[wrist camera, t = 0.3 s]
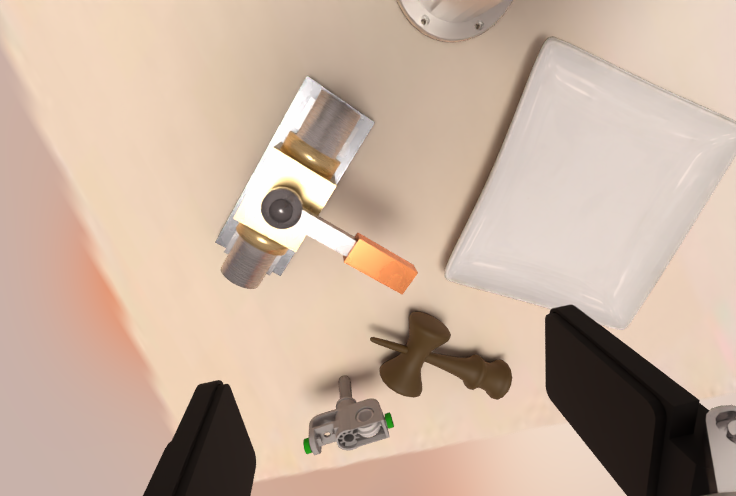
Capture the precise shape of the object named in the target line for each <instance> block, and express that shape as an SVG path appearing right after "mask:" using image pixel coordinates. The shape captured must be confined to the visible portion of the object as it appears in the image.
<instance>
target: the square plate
mask: <svg viewBox="0 0 736 496" xmlns="http://www.w3.org/2000/svg"><path fill="white" fill-rule="evenodd" d="M735 156H736V121H734V120H732V119H730V118H728V117H726V116H724V115H721V114H719V113H717V112H715V111H712V110H710V109H708V108H706V107H703V106H701V105H699V104H696V103H694V102H692V101H690V100H687V99H685V98H683V97H681V96H678V95H676V94H674V93H672V92H670V91H667V90H665V89H663V88H661V87H659V86H657V85H654V84H652V83H650V82H648V81H646V80H644V79H642V78H640V77H638V76H636V75H634V74H632V73H629V72H627V71H625V70H623V69H621V68H619V67H617V66H615V65H613V64H611V63H609V62H607V61H605V60H603V59H601V58H599V57H597V56H595V55H593V54H591V53H589V52H587V51H585V50H583V49H581V48H579V47H576V46H574V45H572V44H570V43H568V42H565V41H563V40H560V39H558V38H555V37H549V38H547V40H546V41H545V42H544V44H543V46H542V48H541V50H540V52H539V54H538V56H537V58H536V61H535V63H534V65H533V68H532V70H531V73H530V75H529V78H528V80H527V83H526V86H525V88H524V91H523V93H522V96H521V99H520V101H519V104H518V106H517V109H516V112H515V114H514V117H513V119H512V122H511V124H510V127H509V129H508V132H507V134H506V137H505V139H504V142H503V144H502V147H501V149H500V151H499V154H498V156H497V159H496V161H495V163H494V166H493V168H492V170H491V172H490V175H489V177H488V179H487V181H486V184H485V186H484V188H483V190H482V192H481V194H480V196H479V199H478V201H477V203H476V205H475V207H474V209H473V211H472V213H471V215H470V217H469V219H468V221H467V223H466V225H465V227H464V229H463V231H462V233H461V235H460V237H459V239H458V241H457V243H456V245H455V247H454V249H453V251H452V254H451V256H450V258H449V260H448V263H447V265H446V268H445V278H446V279H447V280H449V281H451V282H454V283H457V284H460V285H464V286H467V287H471V288H475V289H479V290H483V291H486V292H490V293H494V294H498V295H501V296H505V297H509V298H513V299H516V300H520V301H524V302H527V303H531V304H534V305H538V306H541V307H544V308H548V309H552V308H556V307H561V306H565V305H570V304H571V305H574V306H576V307H577V308H579V309H580V310H581V311H582V312H584V313H585V314H586V315H588V316H589V317H590V318H592V319H593V320H594V321H596V322H597V323H598V324H600V325H603V326H606V327H610V328H614V329H619V330H623V329H625V328H627V327H628V326H629V324H630V323H631V321H632V320H633V318H634V317H635V315H636V314H637V312H638V311H639V309H640V308H641V306H642V305H643V303H644V302H645V300H646V299H647V297H648V295H649V294H650V292H651V291H652V289H653V288H654V286H655V285H656V283H657V281H658V280H659V278H660V277H661V275H662V274H663V272H664V270H665V269H666V267H667V266H668V264H669V263H670V261H671V259H672V258H673V256H674V255H675V253H676V252H677V250H678V248H679V247H680V245H681V243H682V242H683V240H684V239H685V237H686V235H687V234H688V232H689V231H690V229H691V227H692V226H693V224H694V223H695V221H696V219H697V218H698V216H699V214H700V213H701V211H702V210H703V208H704V207H705V205H706V203H707V202H708V200H709V199H710V197H711V195H712V194H713V192H714V190H715V189H716V187H717V185H718V184H719V182H720V181H721V179H722V177H723V176H724V174H725V172H726V171H727V169H728V167H729V166H730V164H731V163H732V161H733V159H734V158H735Z"/></svg>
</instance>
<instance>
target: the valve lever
mask: <svg viewBox="0 0 736 496" xmlns="http://www.w3.org/2000/svg"><path fill="white" fill-rule="evenodd" d="M261 214H262V217H263V219H264V220H265V222H266V223H267V224H269V225H270V226H272V227H274V228H276V229H288V228H291V227H294V228H296V229H297V230H299V231H301V232H303V233H305V234H306V235H308V236H310V237H312V238H314V239H315V240H317V241H319V242H321V243H322V244H324V245H326V246H328V247H330V248H331V249H333V250H335V251H337V252H339V253H340V254H342V255H343V258H344V263H346V264H348V265H350V266H351V267H353V268H355V269H357V270H359V271H361V272H362V273H364V274H366V275H368V276H370V277H371V278H373V279H375V280H377V281H379V282H380V283H382V284H384V285H386V286H388V287H390V288H391V289H393V290H395V291H397V292H399V293H400V294H403V293H404V292H405V290H406V289H407V287H408V286H409V285H410V283H411V282H412V280H413V279H414V278H415V276H416V275H417V273H418V272H417V270H416V269H415V267H414V265H413V264H411V263H409V262H408V261H406V260H404V259H402V258H401V257H399V256H397V255H396V254H394V253H392V252H390V251H389V250H387V249H385V248H384V247H382V246H380V245H378V244H377V243H375V242H373V241H372V240H370V239H368V238H366V237H365V236H363V235H361V234H360V233H357V234H356V236H355V237H354V236H352V235H350V234H349V233H347V232H345V231H343V230H342V229H340V228H338V227H336V226H335V225H333V224H331V223H329V222H328V221H326V220H324V219H323V218H321V217H319V216H317V215H316V214H314V213H312V212H310V211H309V210H307V209H305V208H304V207H303V203H302V200H301V198H300V196H299V195H298V194H297V193H296V192H295V191H294V190H292V189H290V188H287V187H277V188H274V189H272V190H270V191H269V192H268V193H267V194H266V196H265V197H264V199H263V201H262V203H261Z"/></svg>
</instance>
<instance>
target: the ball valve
mask: <svg viewBox="0 0 736 496" xmlns="http://www.w3.org/2000/svg"><path fill="white" fill-rule="evenodd" d="M374 123H375V122H374V121H372V120H371V119H369V118H368V117H366V116H365V115H363V114H362V113H360V112H359V111H358V110H356V109H355V108H353V107H352V106H350V105H349V104H347V103H346V102H344V101H343V100H342V99H340V98H339V97H337V96H336V95H334V94H333V93H331V92H330V91H329V90H327V89H326V88H324V87H323V86H321V85H320V84H318V83H317V82H315V81H314V80H313V79H311V78H310V77H308V76H306V78H305V80H304V82H303V84H302V86H301V87H300V89H299V91H298V93H297V95H296V96H295V98H294V100H293V102H292V104H291V106H290V107H289V109H288V111H287V113H286V115H285V116H284V118H283V120H282V122H281V124H280V125H279V127H278V129H277V131H276V133H275V135H274V136H273V138H272V140H271V142H270V144H269V145H268V147H267V149H266V151H265V153H264V155H263V156H262V158H261V160H260V162H259V164H258V165H257V167H256V169H255V171H254V173H253V175H252V176H251V178H250V180H249V182H248V184H247V185H246V187H245V189H244V191H243V193H242V194H241V196H240V198H239V200H238V202H237V204H236V205H235V207H234V209H233V211H232V213H231V214H230V216H229V218H228V220H227V222H226V224H225V225H224V227H223V229H222V231H221V233H220V234H219V236H218V238H217V240H216V242H215V243H217V244H219V245H221V246H223V247H225V248H226V249H225V251H224V252H225V253H226V254H228V256H227V258H226V260H225V261H224V263H223V265H222V267H221V272H222V274H223V275H224V276H225V277H226V278H227V279H228V280H229V281H231V282H232V283H234V284H236V285H238V286H240V287H243V288H248V289H254V288H257V287H258V286H259V285H260V283H261V281H262V280H263V278H264V276H265V275H266V274H268V275H270V274H271V273H272V272H274V273H276V274H278V275H280V276H281V274H282V273H283V271H284V270H285V268H286V266H287V265H288V263H289V261H290V260H291V258H292V257H293V255H294V253H295V252H296V251H297V249H298V247H299V246H300V244H301V243H302V241H303V239H304V238H305V236H306V234H305V233H303V232H301V231H299V230H297V229H296V228H294V227H291V228H288V229H276V228H274V227H272V226H270V225H269V224H267V223H266V222H265V220H264V219H263V217H262V214H261V203H262V201H263V199H264V197H265V196H266V194H267V193H268V192H269V191H270V190H272V189H274V188H277V187H287V188H290V189H292V190H294V191H295V192H296V193H297V194H298V195H299V196H300V198H301V200H302V203H303V207H304V208H305V209H307V210H309V211H310V212H312V213H314V214H316V215H317V216H318V215H319V213H320V212H321V210H322V208H323V207H324V205H325V204H326V202H327V200H328V199H329V197H330V195H331V194H332V192H333V191H334V189H335V187H336V185H337V183H338V182H339V180H340V179H341V177H342V175H343V174H344V172H345V170H346V169H347V167H348V166H349V164H350V162H351V161H352V159H353V157H354V156H355V154H356V153H357V151H358V149H359V148H360V146H361V144H362V143H363V141H364V140H365V138H366V136H367V135H368V133H369V131H370V130H371V128H372V127H373V125H374Z"/></svg>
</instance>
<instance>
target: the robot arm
mask: <svg viewBox="0 0 736 496" xmlns="http://www.w3.org/2000/svg"><path fill="white" fill-rule="evenodd" d="M512 1H513V0H397V2H398V4H399V6H400V8H401V10H402V11H403V13H404V15H405V16H406V17H407V19H408V20H409V21H410V23H411V24H412V25H413V26H414V27H416V28H417V29H418V30H419V31H420V32H422V33H423V34H425V35H427V36H429V37H430V38H433V39H436V40H439V41H444V42H459V41H465V40H468V39H471V38H474V37H476V36H478V35H480V34H482V33H484V32H485V31H487V30H488V29H489V28H491V27H492V26H493V25H495V24H496V23H497V21H498V20H499V19H500V18H501V17H502V16H503V15H504V14H505V12H506V11H507V9H508V8H509V6H510V5H511V3H512ZM421 20H424V21H425V25H422V24H421ZM475 24H477V25H478V29H476V28H475ZM545 354H546V391H547V394H548V396H549V398H550V400H551V401H552V402H553V403H554V405H555V406H556V407H557V408H558V410H559V411H560V412H561V413H562V415H563V416H564V417H565V418H566V420H567V421H568V422H569V423H570V425H571V426H572V427H573V429H574V430H575V431H576V432H577V434H578V435H579V436H580V437H581V438H582V440H583V441H584V442H585V444H586V445H587V446H588V447H589V449H590V450H591V451H592V452H593V454H594V455H595V456H596V457H597V459H598V460H599V461H600V462H601V464H602V465H603V466H604V467H605V468H606V470H607V471H608V472H609V473H610V475H611V476H612V477H613V478H614V480H615V481H616V482H617V484H618V485H619V486H620V487H621V489H622V490H623V491H624V492H625V494H626V495H627V496H736V406H733V405H728V406H727V405H726V406H718V407H715V408H712V409H711V410H710V411H709V410H708V409H706V408H705V407H704V406H703V405H701V404H700V403H699V400H698V399H697V398H696V397H694V396H693V395H692V394H691V393H689V392H688V391H687V390H685V389H684V388H683V387H681V386H680V385H679V384H677V383H676V382H675V381H673V380H672V379H671V378H669V377H668V376H667V375H666V374H664V373H663V372H662V371H660V370H659V369H658V368H656V367H655V366H654V365H652V364H651V363H650V362H648V361H647V360H646V359H644V358H643V357H642V356H640V355H639V354H638V353H637V352H635V351H634V350H633V349H631V348H630V347H629V346H627V345H626V344H625V343H623V342H622V341H621V340H619V339H618V338H617V337H615V336H614V335H613V334H611V333H610V332H609V331H608V330H606V329H605V328H604V327H602V326H601V325H600V324H598V323H597V322H596V321H594V320H593V319H592V318H590V317H589V316H588V315H586V314H585V313H584V312H582V311H581V310H580V309H579V308H577V307H576V306H574V305H571V304H570V305H565V306H561V307H556V308H552V309H551V311H550V314H548V315H546V317H545ZM255 468H256V456H255V452H254V449H253V446H252V444H251V441H250V438H249V436H248V433H247V430H246V428H245V425H244V422H243V420H242V417H241V414H240V412H239V409H238V406H237V404H236V401H235V398H234V396H233V393H232V390H231V388H230V386H229V385H228V384H223V382H222V381H220V380H217V381H213V382H208V383H203V384H199V385H198V386H197V388H196V390H195V392H194V394H193V396H192V398H191V401H190V403H189V405H188V407H187V409H186V411H185V414H184V416H183V418H182V420H181V422H180V424H179V426H178V429H177V431H176V433H175V435H174V437H173V439H172V441H171V442H170V443H169V444H168V445H167V447H166V448H165V450H164V452H163V455H162V456H161V459H160V461H159V463H158V465H157V467H156V469H155V471H154V473H153V476H152V478H151V480H150V482H149V484H148V486H147V489H146V491H145V492H144V495H143V496H250V495H251V489H252V484H253V479H254V474H255Z"/></svg>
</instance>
